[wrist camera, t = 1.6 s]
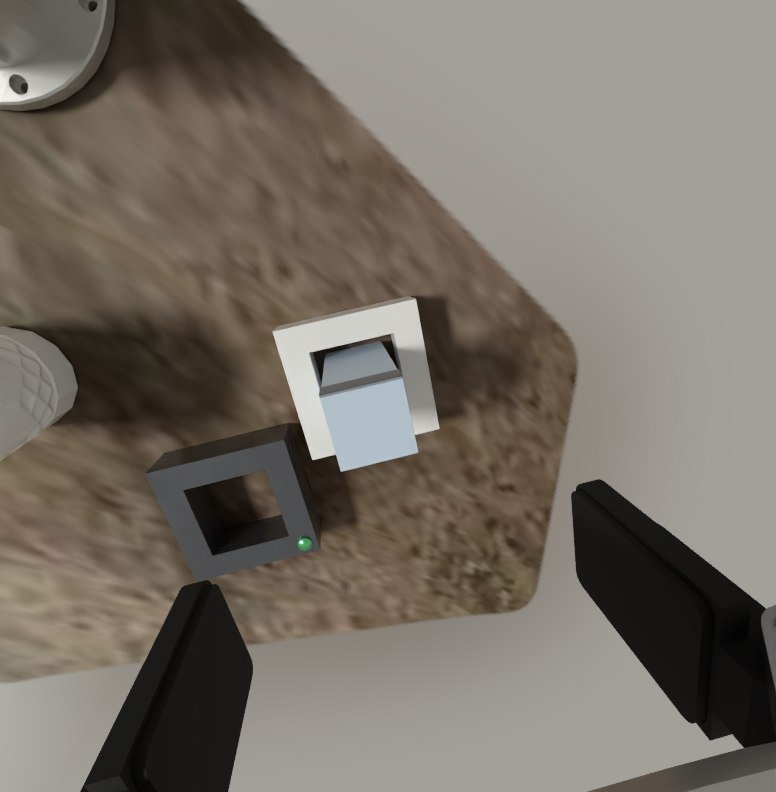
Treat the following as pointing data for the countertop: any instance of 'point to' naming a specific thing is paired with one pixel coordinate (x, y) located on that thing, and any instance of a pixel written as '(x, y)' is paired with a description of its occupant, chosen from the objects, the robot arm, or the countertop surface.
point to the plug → (366, 406)
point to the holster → (348, 328)
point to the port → (196, 516)
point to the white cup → (31, 387)
